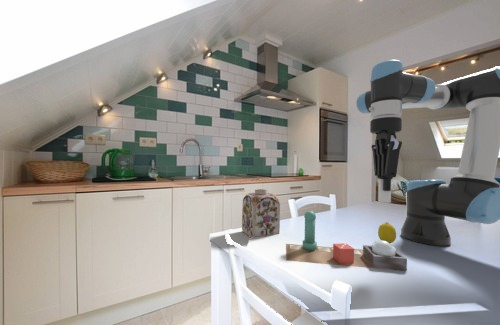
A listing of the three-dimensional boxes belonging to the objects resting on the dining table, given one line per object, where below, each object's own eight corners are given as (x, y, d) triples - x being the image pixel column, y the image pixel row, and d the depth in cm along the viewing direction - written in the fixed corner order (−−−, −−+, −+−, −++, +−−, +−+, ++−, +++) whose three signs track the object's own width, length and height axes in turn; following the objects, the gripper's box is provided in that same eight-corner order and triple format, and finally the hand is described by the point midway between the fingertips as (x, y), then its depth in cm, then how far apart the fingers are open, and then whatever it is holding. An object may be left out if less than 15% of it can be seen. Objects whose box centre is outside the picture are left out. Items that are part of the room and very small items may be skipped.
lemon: (399, 248, 75) (399, 225, 75) (381, 246, 76) (381, 223, 76) (391, 242, 80) (392, 221, 80) (375, 241, 81) (375, 219, 81)
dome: (389, 254, 63) (389, 238, 63) (399, 262, 58) (399, 245, 58) (368, 252, 64) (369, 236, 64) (376, 260, 59) (377, 243, 59)
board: (384, 254, 69) (384, 241, 69) (407, 275, 56) (408, 259, 56) (285, 247, 74) (286, 234, 74) (286, 264, 61) (286, 249, 61)
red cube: (345, 256, 64) (346, 243, 64) (353, 263, 60) (354, 248, 60) (332, 257, 64) (333, 243, 64) (340, 263, 60) (340, 248, 60)
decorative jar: (252, 240, 79) (253, 191, 79) (241, 231, 90) (241, 188, 90) (280, 236, 84) (281, 190, 84) (266, 228, 95) (267, 187, 95)
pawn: (315, 246, 72) (316, 209, 72) (317, 251, 67) (318, 212, 68) (301, 245, 72) (302, 209, 73) (303, 250, 68) (303, 212, 68)
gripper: (363, 123, 68) (361, 197, 68) (381, 113, 55) (380, 205, 55) (388, 122, 67) (387, 198, 67) (413, 113, 54) (412, 207, 54)
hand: (384, 202), depth 61 cm, fingers closed
